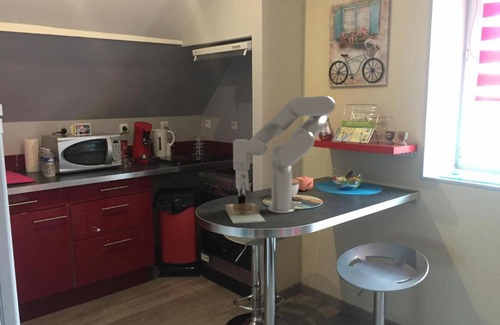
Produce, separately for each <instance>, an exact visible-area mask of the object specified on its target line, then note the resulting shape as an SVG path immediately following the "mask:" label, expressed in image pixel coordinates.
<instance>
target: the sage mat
mask: <svg viewBox="0 0 500 325" xmlns="http://www.w3.org/2000/svg"><path fill="white" fill-rule="evenodd" d="M228 216H229V218H230V220H231V222H232V224H233V225H235V224H248V223H249V224H250V223H262V222H263V223H265V222H266V220H265V218H264V217H263V216H262V215H261V214H260V213H259V214H242V215H228Z"/></svg>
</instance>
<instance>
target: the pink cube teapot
mask: <svg viewBox="0 0 500 325" xmlns="http://www.w3.org/2000/svg"><path fill="white" fill-rule="evenodd" d="M294 179H296V180H299V188H298V191H302V192H306V190H307V191H311V189H314V178H313V177H309V176H306V175H302V176H300V177H295V178H294Z"/></svg>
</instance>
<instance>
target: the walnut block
mask: <svg viewBox="0 0 500 325" xmlns="http://www.w3.org/2000/svg"><path fill="white" fill-rule="evenodd" d="M232 204H233V208H234V211H235V212H238V211H253V207H252V205H251V204H250V202H245V203H241V204H238V203H232Z"/></svg>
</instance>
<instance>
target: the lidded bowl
mask: <svg viewBox="0 0 500 325" xmlns="http://www.w3.org/2000/svg"><path fill="white" fill-rule="evenodd" d="M298 188H299V180H296V179H295V178H292V197H295V196H296V195H297V193H298V191H299V190H298Z"/></svg>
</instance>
